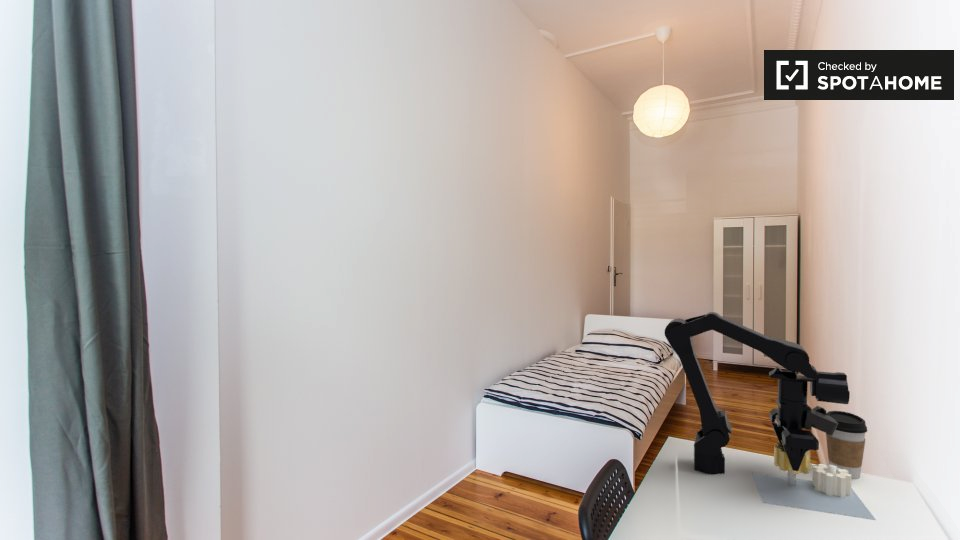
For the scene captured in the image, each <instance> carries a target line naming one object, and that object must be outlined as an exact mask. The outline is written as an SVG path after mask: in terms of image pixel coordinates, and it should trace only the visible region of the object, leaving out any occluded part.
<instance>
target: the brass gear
mask: <svg viewBox="0 0 960 540" xmlns="http://www.w3.org/2000/svg"><path fill="white" fill-rule="evenodd" d="M773 450H774V451H773V465H774V466H775V467H778V468H779V471H783V472H788V471H789V472H792V473H793V474H796V475H799V474H805V475H807V474H809V472H810V471H811V450H809V451H807V452H806V453H805V455H804V457H803V460H802V463H801V465H800V468H799V471H794V470H792V467H791V465H790V462H789V459H788V457H787V454H786V452H785V449H784V447H783V444H781V443H779V442H777V443H775V445H774V448H773Z"/></svg>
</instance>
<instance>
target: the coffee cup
mask: <svg viewBox="0 0 960 540" xmlns="http://www.w3.org/2000/svg"><path fill="white" fill-rule="evenodd" d="M826 413H827V416H828V415H829V416H830V417H832V418H833V419H835V421H836V422H837V423H838V425H837V427H836V430H835V432H834V434H833V436H830V435H828V434H826V433H825V437H826V438H825V439H826V447H827V458H828V465H829V464H830V465H834V466H837V468H840V469H845V470H847V471H849V474H850V475H851V480H859V479H860V478H861V473H862V466H863V459H864V453H865V445H866V433H867V432H868V427H867V423H866V420H865V419H864V418H862V417H860V416H858V415H856V414H854V413H852V412H846V411H840V410H830V411H826Z"/></svg>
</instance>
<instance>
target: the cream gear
mask: <svg viewBox="0 0 960 540" xmlns="http://www.w3.org/2000/svg"><path fill="white" fill-rule="evenodd" d="M827 465H828V464H827ZM827 465H826V464H824V463H818V464H817V465H813V466H812V481H813V486H815V489H816V490H817V491H822V492H824V493H826V495H829V496H832V495H835V496H839V497H841V498H845V497H846V495H849V496H850V495H851V488H852V479H851V475H850V474H849V471H847V470H845V469H840V468H837V466H836V474H832V473H828V472H827Z"/></svg>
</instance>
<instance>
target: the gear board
mask: <svg viewBox="0 0 960 540" xmlns="http://www.w3.org/2000/svg"><path fill="white" fill-rule="evenodd" d="M827 472H828V473H832V474H836V466H834V465H830V464H829V463H828V464H827ZM751 475H752V477H753V479H754V482H755V485H756V487H757V490H758V492H759V495H760V498H761V500H762V503H763V504H768V505H769V504H770V505H776V506H781V507H789V508H795V509H802V510H807V511H813V512H820V513H827V514H833V515H840V516H847V517H852V518H853V517H854V518H858V519H860V518H861V519H865V520H872V521H876V518H875V516H874V515H873V514H872V513H871V511H870V510H869V509H868V507H867V506H866V505H865V504H864V502H863V501H862V500H861V498H860V497H859V495H858V494H856V492H855V490H853V488H852V487H851V495H850V496H849V495H846V497H845V498H841V497H839V496H835V495H832V496H829V495H826V493H824V492H822V491H817V490H816V489H815V486H813V480H810V479H803V478H802V479H801V478H797V474H793V473H792V472H789V471H787V477H786V476H780V475H772V474H765V473H758V472H751Z"/></svg>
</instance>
